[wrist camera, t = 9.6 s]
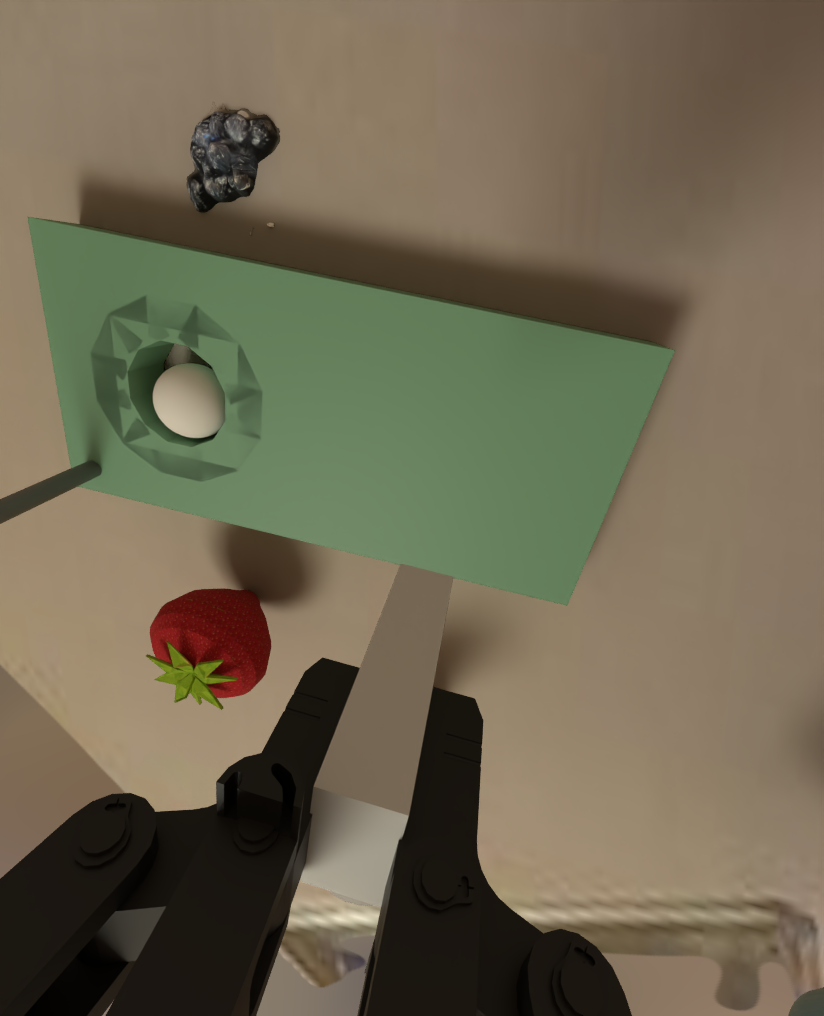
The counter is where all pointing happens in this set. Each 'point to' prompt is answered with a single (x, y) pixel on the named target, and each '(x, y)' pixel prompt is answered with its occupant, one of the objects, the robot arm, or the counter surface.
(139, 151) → the counter surface
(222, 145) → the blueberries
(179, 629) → the strawberry
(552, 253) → the counter surface
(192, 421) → the white ball
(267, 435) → the board
